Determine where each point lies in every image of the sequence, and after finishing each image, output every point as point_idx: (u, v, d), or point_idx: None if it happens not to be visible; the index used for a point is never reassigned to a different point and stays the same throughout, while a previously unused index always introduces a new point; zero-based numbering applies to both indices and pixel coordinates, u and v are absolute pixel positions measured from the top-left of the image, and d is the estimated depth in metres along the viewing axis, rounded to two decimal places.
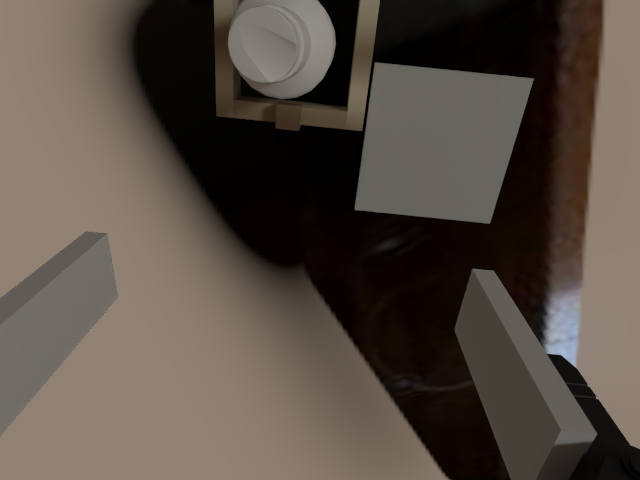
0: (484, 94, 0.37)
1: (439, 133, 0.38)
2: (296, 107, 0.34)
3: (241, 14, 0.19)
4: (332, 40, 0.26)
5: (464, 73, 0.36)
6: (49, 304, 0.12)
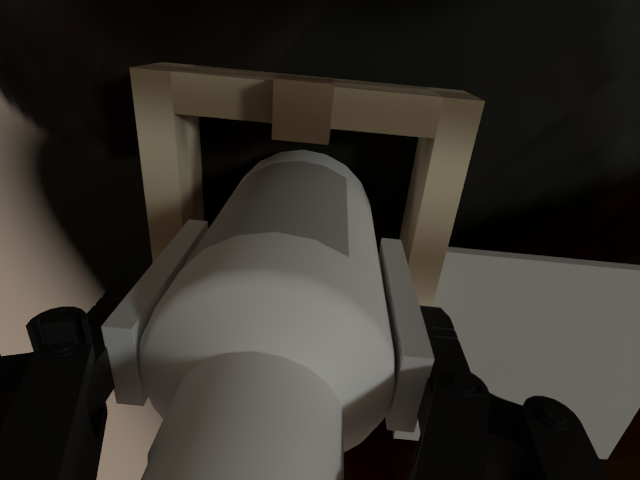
0: (628, 298, 0.21)
1: (541, 348, 0.23)
2: None
3: None
4: (393, 380, 0.10)
5: (597, 268, 0.20)
6: None
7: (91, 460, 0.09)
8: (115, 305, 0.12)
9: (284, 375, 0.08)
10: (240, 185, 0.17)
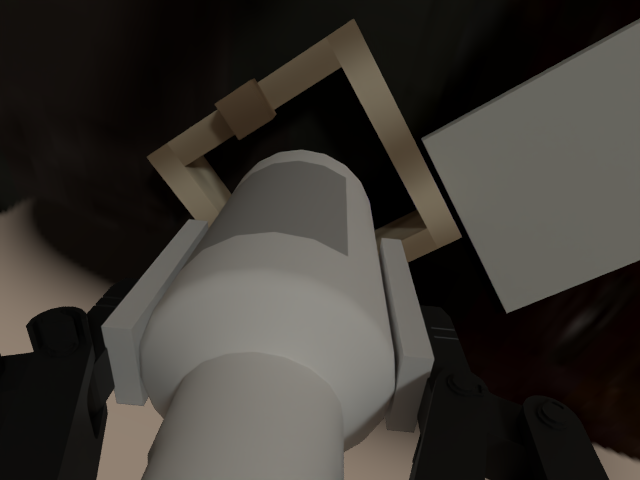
0: (613, 71, 0.22)
1: (571, 162, 0.24)
2: None
3: None
4: (393, 379, 0.10)
5: (562, 67, 0.22)
6: None
7: (91, 460, 0.09)
8: (115, 305, 0.12)
9: (283, 375, 0.08)
10: (240, 185, 0.17)
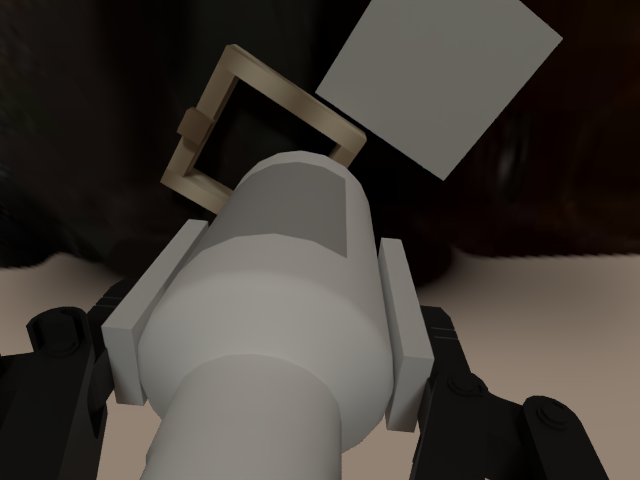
0: None
1: (419, 56, 0.33)
2: None
3: None
4: (391, 382, 0.10)
5: (372, 2, 0.31)
6: None
7: (91, 460, 0.09)
8: (115, 305, 0.12)
9: (282, 377, 0.08)
10: (239, 186, 0.17)
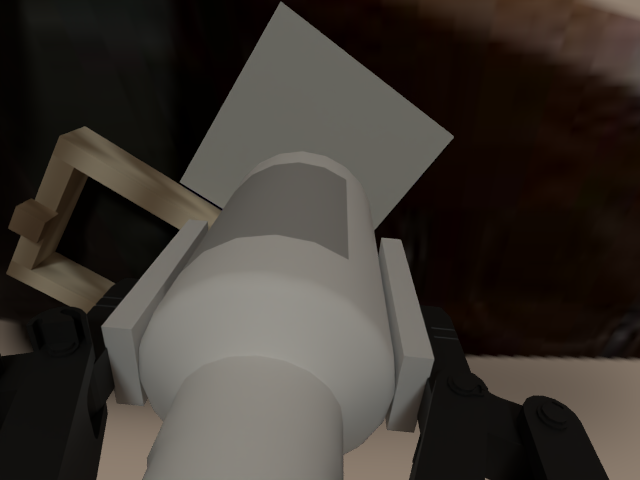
0: (270, 75, 0.27)
1: (292, 149, 0.29)
2: None
3: None
4: (393, 383, 0.10)
5: (233, 90, 0.27)
6: None
7: (91, 460, 0.09)
8: (115, 305, 0.12)
9: (284, 378, 0.08)
10: (240, 187, 0.17)
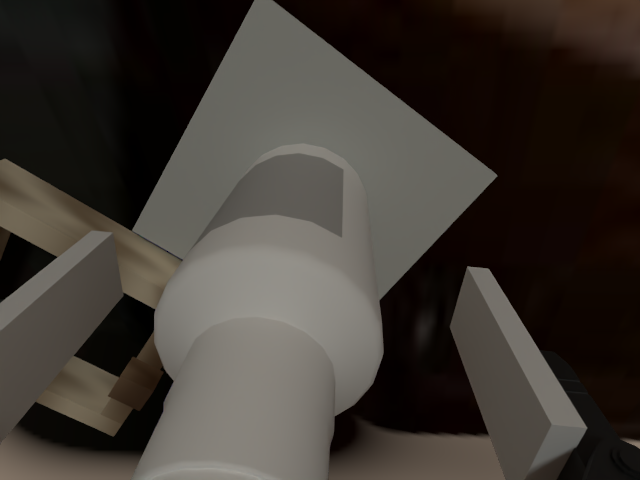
0: (247, 93, 0.19)
1: None
2: (119, 379, 0.23)
3: None
4: (381, 347, 0.12)
5: (198, 113, 0.20)
6: (57, 302, 0.12)
7: None
8: None
9: (282, 336, 0.10)
10: (244, 176, 0.18)
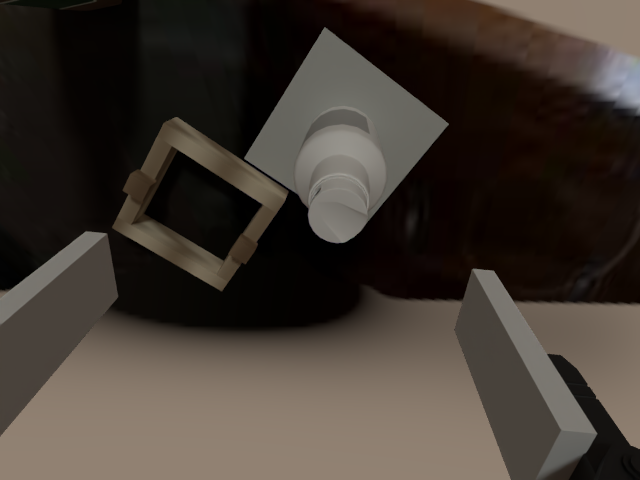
0: (315, 79, 0.37)
1: None
2: (237, 242, 0.40)
3: (321, 193, 0.23)
4: (386, 175, 0.29)
5: (288, 90, 0.37)
6: (49, 304, 0.12)
7: None
8: None
9: (351, 158, 0.27)
10: (315, 121, 0.36)
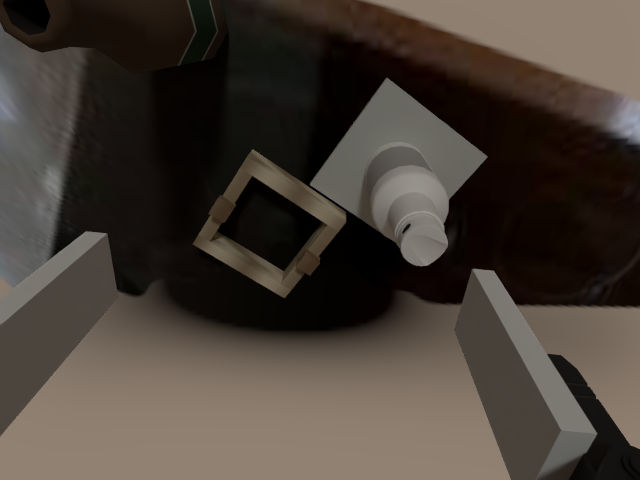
0: (376, 119, 0.43)
1: None
2: (304, 257, 0.47)
3: (413, 229, 0.29)
4: (448, 207, 0.36)
5: (352, 128, 0.44)
6: (49, 304, 0.12)
7: None
8: None
9: (424, 196, 0.34)
10: (377, 156, 0.42)
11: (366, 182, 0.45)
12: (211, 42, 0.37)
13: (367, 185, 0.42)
